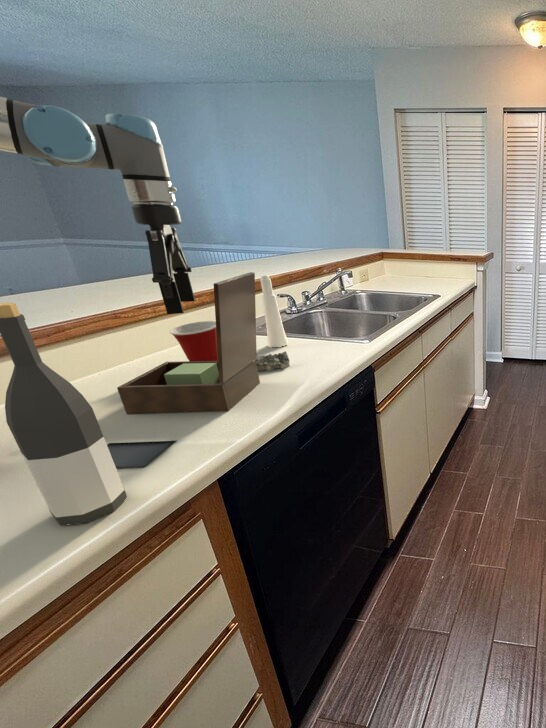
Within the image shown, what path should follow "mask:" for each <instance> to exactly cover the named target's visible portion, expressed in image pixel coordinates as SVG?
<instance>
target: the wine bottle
mask: <svg viewBox="0 0 546 728" xmlns="http://www.w3.org/2000/svg"><path fill="white" fill-rule="evenodd" d="M0 336H1V339H2V341H3V343H4V346H5V347H6V349H7V352H8V354H9V356H10V359H11V362H12V363H13V365H14V366H13V370H12V373H11V377H10V380H9V383H8V385H7V388H6V391H5V399H4V400H5V401H4V411H5V412H4V413H5V418H6V419H5V420H6V424H7V426H8V428H9V430H10V433H11V434H12V437H13V439H14V441H15V442H16V444H17V447H18V448H19V451H20V453H21V455H22V457H23V459H24V461H25V464H26V465H27V467H28V469H29V472H30V473H31V475H32V477H33V480H34V482H35V483H36V485H37V487H38V490H39V492H40V493H41V496H42V498H43V500H44V502H45V504H46V506H47V508H48V510H49V512H50V514H51V515H52V517H53V518H54V519H55V520H56V521H57V523H58V524H59V525H60V526H61V527H63V526H62V525H65V526H68V525H67V524H74V525H77V524H76V523H83V524H88V523H90V522H89V521H91V522H93V521H95V520H97V519H96V518H98V517H100V516H102V517H104V515H105V514H107V515H109V514H111V512H112V513H114V512H116V510H118V508H119V507H120V506H121V505H122V504H123V503H124V502H125V501H126V500H127V499H128V496H127V492H126V490H125V486H124V485H123V482H122V480H121V476H120V474H119V472H118V469H116V467H115V464H114V462H113V459H112V457H111V454H110V452H109V449H108V446H107V442H106V440H105V437H104V434H103V432H102V429H101V427H100V424H99V421H98V419H97V416H96V413H95V411H94V409H93V407H92V405H91V404H90V403H89V402H88V400H87V399H86V398H85V396H84V395H83V394H82V393H81V392H80V391H79V390H78V389H77V388H76V387H75V386H74V385H73V384H72V383H71V382H70V381H68V380H67V379H66V378H64V377H63V376H61V375H60V374H58V372H56V371H54V370H53V369H52V368H51V367H50V366H48V365H47V364H46V363H44V362H43V360H42V358H41V356H40V352H39V351H38V348H37V346H36V344H35V342H34V339H33V337H32V334H31V332H30V330H29V327H28V325H27V322H26V317H25V315H24V314H22V313H20V311H19V309H18V306H17V305H16V303H14V302H0ZM126 498H127V499H126ZM125 499H126V500H125ZM124 500H125V501H124ZM113 511H114V512H113ZM108 513H109V514H108ZM105 516H106V515H105ZM100 518H101V517H100ZM94 519H95V520H94ZM98 519H99V518H98ZM92 520H93V521H92ZM87 522H88V523H87Z"/></svg>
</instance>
